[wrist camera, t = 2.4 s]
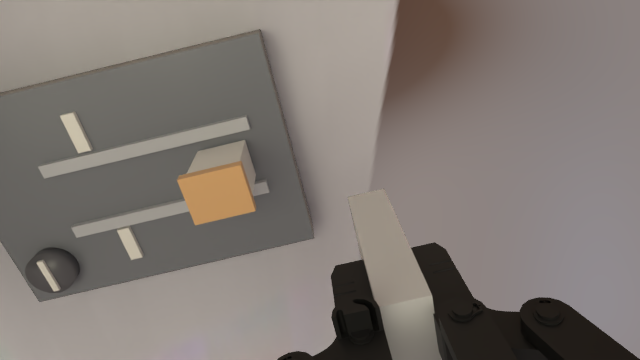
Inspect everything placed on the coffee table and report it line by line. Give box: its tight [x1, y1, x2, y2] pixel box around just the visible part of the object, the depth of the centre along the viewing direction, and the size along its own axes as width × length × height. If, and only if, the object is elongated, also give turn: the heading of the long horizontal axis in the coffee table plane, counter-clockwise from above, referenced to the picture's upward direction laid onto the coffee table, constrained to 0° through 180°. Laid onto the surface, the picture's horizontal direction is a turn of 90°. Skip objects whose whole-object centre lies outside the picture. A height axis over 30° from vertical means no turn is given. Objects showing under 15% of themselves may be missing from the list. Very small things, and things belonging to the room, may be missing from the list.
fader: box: [177, 140, 256, 225], centre depth 25 cm, size 3×3×5 cm
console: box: [0, 29, 314, 302], centre depth 28 cm, size 20×14×3 cm
